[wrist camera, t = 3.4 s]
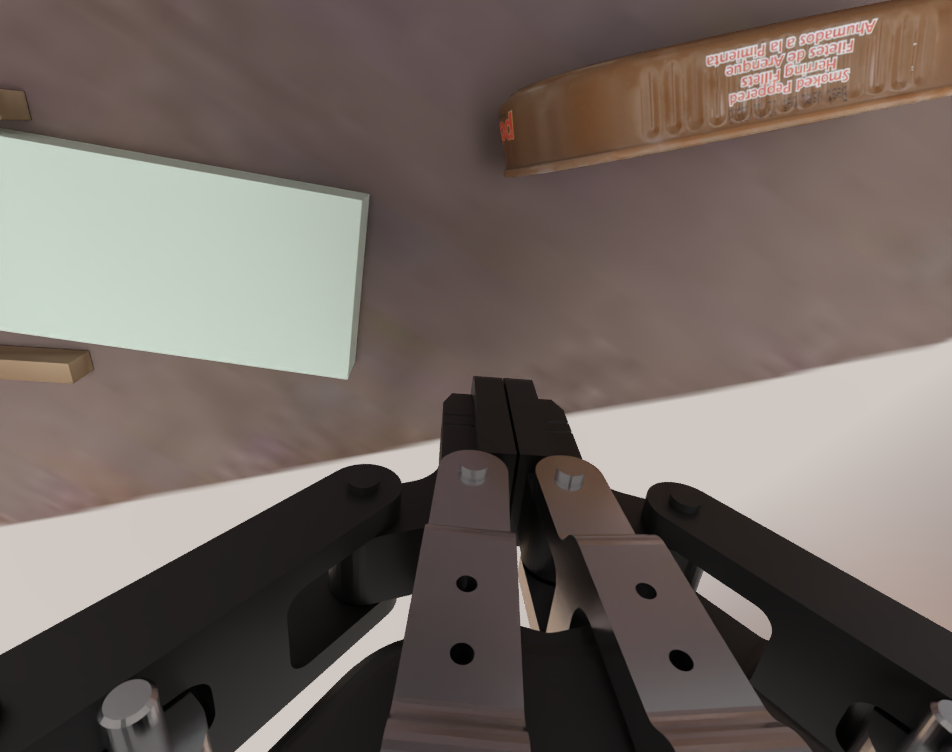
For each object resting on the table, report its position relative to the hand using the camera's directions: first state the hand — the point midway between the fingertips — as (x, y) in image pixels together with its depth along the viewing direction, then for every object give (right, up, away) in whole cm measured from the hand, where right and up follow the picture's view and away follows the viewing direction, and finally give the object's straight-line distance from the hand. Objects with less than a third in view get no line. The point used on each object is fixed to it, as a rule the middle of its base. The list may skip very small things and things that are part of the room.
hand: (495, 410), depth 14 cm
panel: (-13, +6, +10) cm, 18 cm away
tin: (+8, +12, +8) cm, 16 cm away
